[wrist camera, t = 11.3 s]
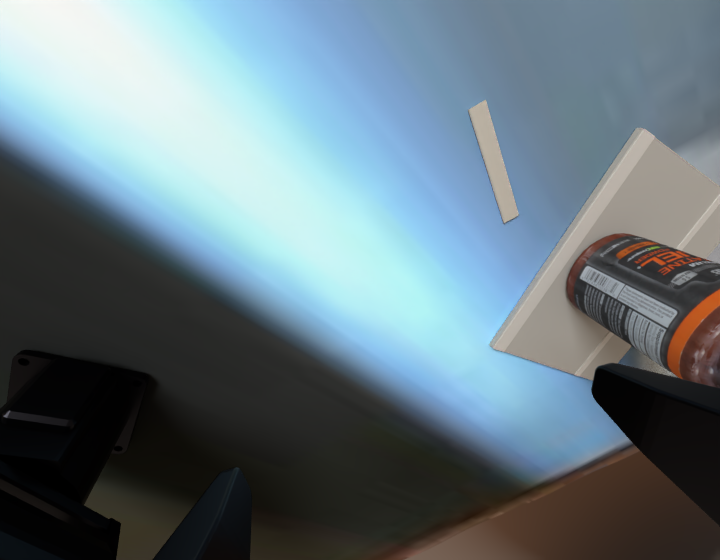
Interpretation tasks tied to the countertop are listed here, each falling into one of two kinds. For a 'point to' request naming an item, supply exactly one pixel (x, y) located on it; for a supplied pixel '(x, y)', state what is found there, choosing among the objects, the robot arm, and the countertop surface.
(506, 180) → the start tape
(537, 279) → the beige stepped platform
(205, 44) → the countertop surface
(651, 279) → the supplement bottle
